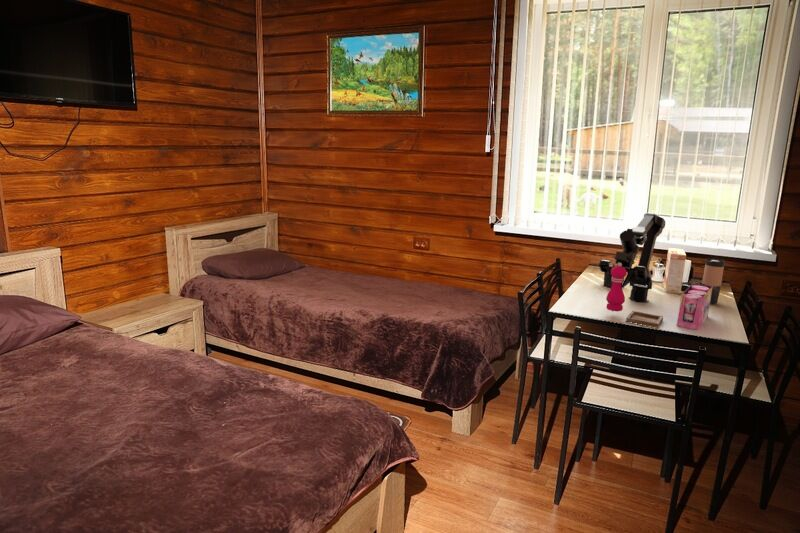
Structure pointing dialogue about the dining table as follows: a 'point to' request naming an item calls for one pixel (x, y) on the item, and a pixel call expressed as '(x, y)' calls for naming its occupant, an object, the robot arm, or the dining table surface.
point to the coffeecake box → (674, 270)
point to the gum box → (694, 306)
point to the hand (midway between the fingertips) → (616, 285)
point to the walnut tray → (644, 319)
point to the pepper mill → (616, 289)
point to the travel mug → (713, 277)
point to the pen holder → (606, 280)
